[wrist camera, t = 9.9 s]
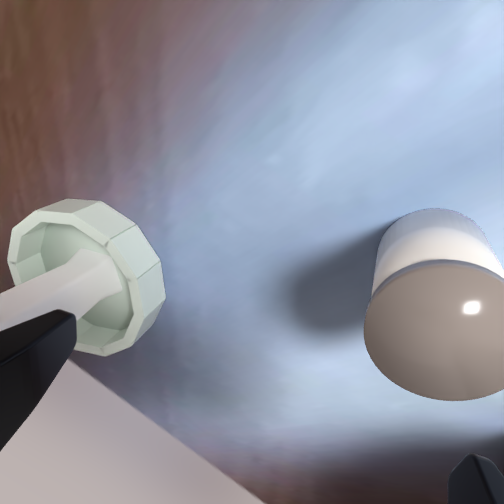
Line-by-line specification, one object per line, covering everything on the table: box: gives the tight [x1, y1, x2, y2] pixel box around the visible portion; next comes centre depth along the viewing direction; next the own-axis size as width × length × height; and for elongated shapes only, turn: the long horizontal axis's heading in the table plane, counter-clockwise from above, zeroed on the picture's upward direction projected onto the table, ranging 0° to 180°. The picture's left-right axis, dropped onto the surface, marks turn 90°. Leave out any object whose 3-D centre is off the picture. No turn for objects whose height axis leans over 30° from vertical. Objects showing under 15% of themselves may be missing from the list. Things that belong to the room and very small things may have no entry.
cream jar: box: [364, 208, 504, 401], centre depth 16 cm, size 5×5×7 cm
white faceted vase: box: [0, 248, 122, 331], centre depth 20 cm, size 5×4×15 cm
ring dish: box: [7, 199, 166, 356], centre depth 26 cm, size 10×10×2 cm
